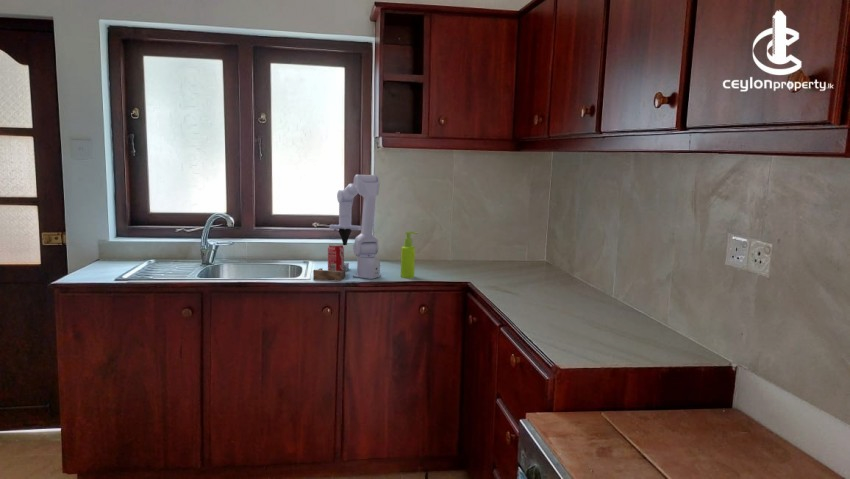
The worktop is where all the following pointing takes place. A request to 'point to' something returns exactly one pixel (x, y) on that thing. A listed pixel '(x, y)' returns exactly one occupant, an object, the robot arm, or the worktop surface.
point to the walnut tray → (328, 275)
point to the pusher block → (346, 266)
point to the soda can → (335, 257)
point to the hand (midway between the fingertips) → (344, 244)
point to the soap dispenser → (408, 257)
